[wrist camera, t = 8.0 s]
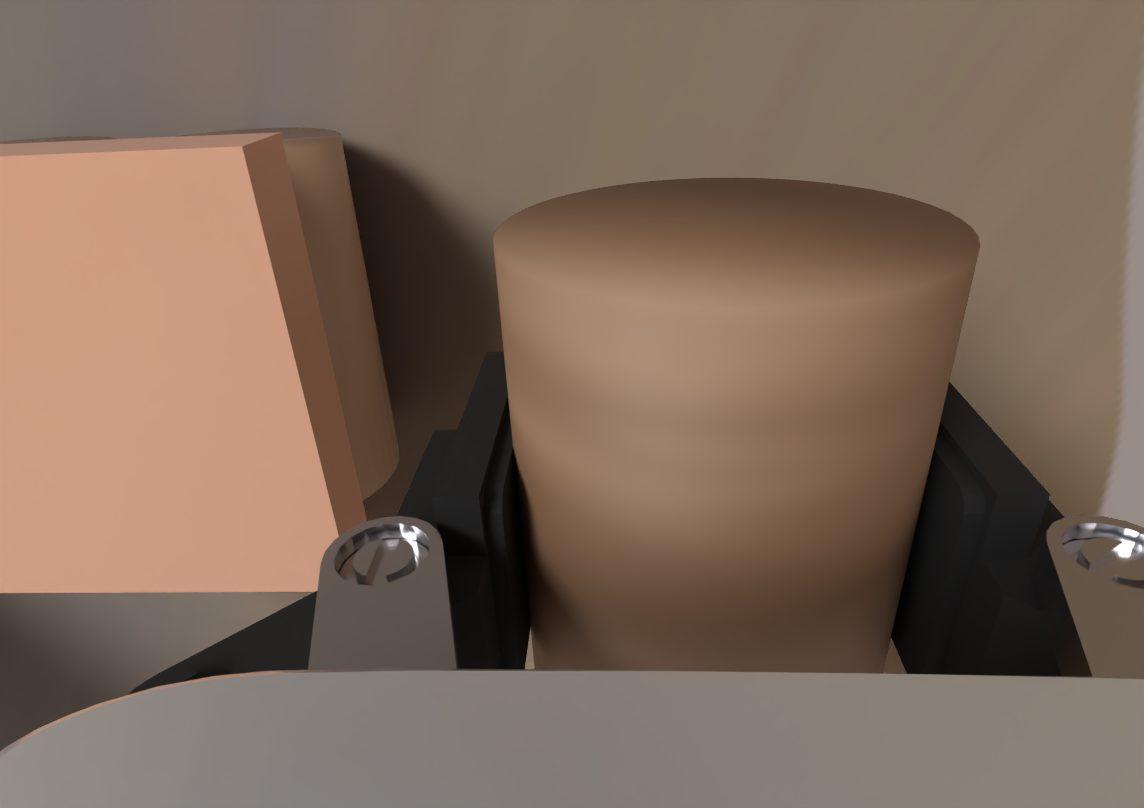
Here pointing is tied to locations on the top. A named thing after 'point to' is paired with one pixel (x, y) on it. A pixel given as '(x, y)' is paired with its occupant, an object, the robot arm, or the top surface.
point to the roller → (725, 417)
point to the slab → (184, 363)
